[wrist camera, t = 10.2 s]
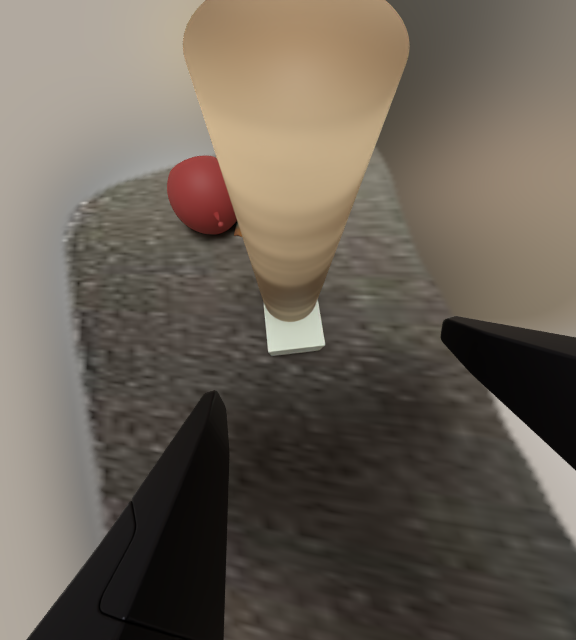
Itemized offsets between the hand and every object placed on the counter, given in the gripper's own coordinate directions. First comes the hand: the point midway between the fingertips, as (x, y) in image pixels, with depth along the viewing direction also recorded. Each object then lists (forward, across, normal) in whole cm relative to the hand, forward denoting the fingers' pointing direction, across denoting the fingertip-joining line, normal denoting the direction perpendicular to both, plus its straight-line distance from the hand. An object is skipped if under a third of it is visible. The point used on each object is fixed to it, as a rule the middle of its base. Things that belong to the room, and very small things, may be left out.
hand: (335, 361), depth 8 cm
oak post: (+9, 0, +1) cm, 9 cm away
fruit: (+18, +4, -4) cm, 19 cm away
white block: (+11, 0, +3) cm, 11 cm away
